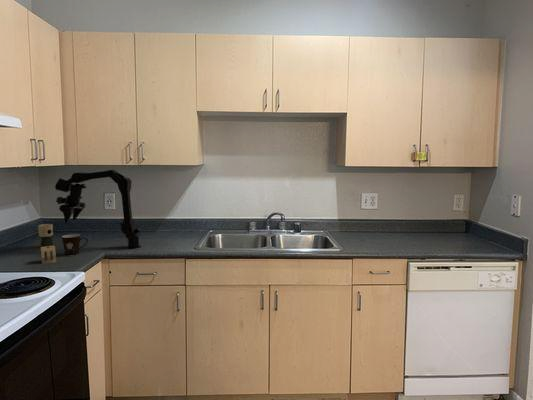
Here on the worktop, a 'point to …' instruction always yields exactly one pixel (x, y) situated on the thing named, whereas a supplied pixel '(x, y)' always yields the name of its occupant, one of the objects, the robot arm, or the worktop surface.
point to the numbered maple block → (48, 254)
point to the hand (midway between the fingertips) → (70, 221)
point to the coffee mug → (72, 243)
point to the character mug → (46, 234)
